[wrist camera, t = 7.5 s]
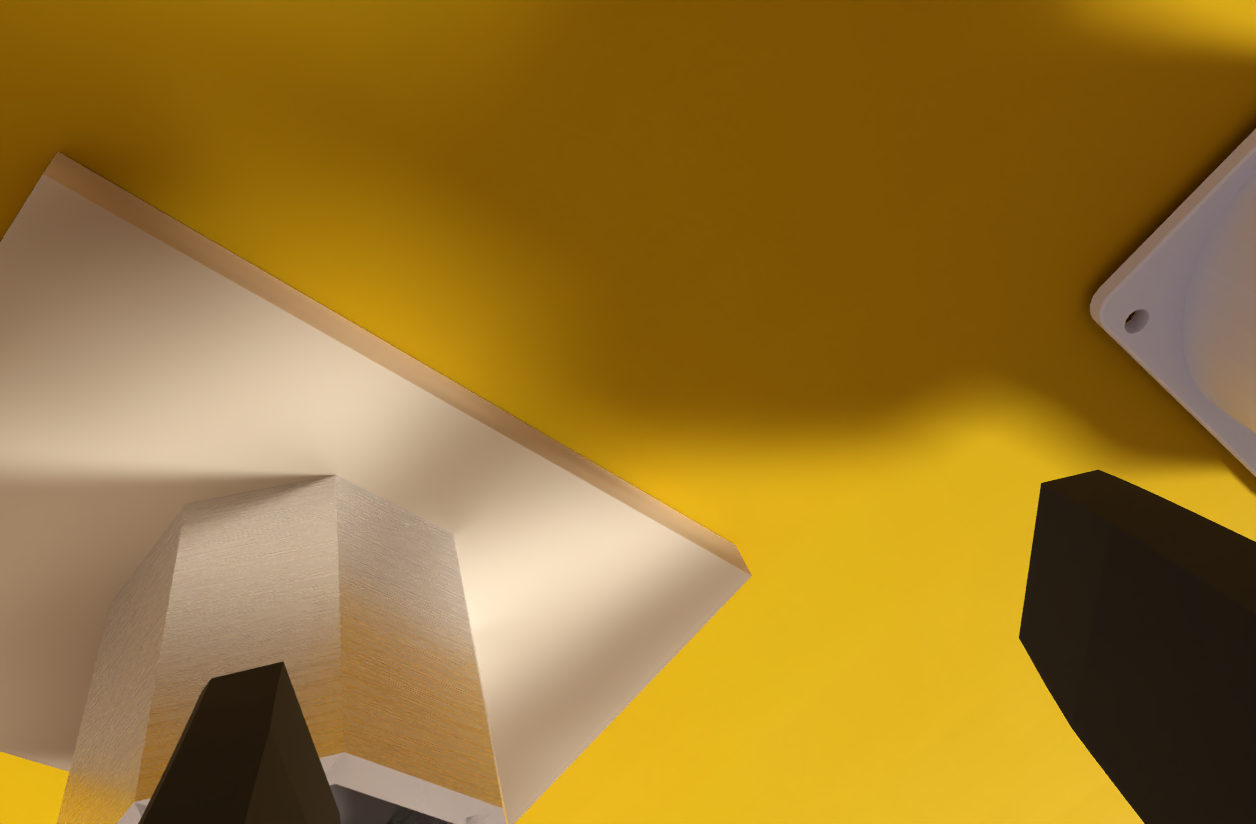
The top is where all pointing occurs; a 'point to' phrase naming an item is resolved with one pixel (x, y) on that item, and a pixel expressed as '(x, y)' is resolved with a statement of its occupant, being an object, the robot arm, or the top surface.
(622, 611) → the board
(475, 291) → the top surface
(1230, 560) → the robot arm
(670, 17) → the top surface
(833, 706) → the top surface
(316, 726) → the collar
